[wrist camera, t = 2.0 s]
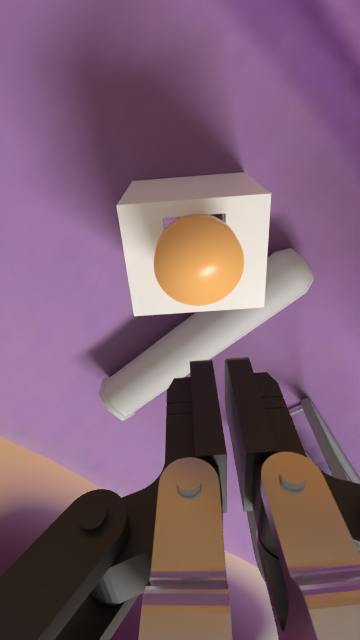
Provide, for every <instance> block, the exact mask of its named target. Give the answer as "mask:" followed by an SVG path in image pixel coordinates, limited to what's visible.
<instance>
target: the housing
mask: <svg viewBox="0 0 360 640" xmlns="http://www.w3.org/2000/svg"><path fill="white" fill-rule="evenodd" d="M270 205H271V193H270V192H269V191H268V190H266V189H265V188H264V187H262V186H261V185H260V184H259V183H257V182H256V181H255V180H254V179H252V178H251V177H250V176H248V175H247V174H246V173H245V172H240V173H227V174H215V175H202V176H189V177H176V178H163V179H151V180H138V181H132V183H131V184H130V186H129V187H128V189H127V190H126V192H125V193H124V195H123V196H122V198H121V199H120V201H119V202H118V204H117V205H116V206H117V212H118V218H119V224H120V231H121V237H122V243H123V249H124V256H125V262H126V268H127V274H128V281H129V287H130V293H131V299H132V305H133V312H134V316H145V315H160V314H175V313H189V312H204V311H218V310H233V309H248V308H262V307H264V303H265V286H266V270H267V254H268V238H269V221H270ZM190 214H207V215H210V214H222V221H224V222H225V223H226V224H227V225H228V226H229V227H230V228H231V229H232V230H233V232H234V233H235V235H236V237H237V239H238V241H239V243H240V245H241V247H242V250H243V255H244V269H243V273H242V276H241V279H240V281H239V282H238V284H237V286H236V287H235V288H234V289H233V290H232V292H231V293H229V294H228V295H227V296H226V297H224V298H223V299H221V300H219V301H217V302H215V303H212V304H208V305H202V306H193V305H187V304H183V303H180V302H178V301H176V300H174V299H173V298H171V297H170V296H168V295H167V294H166V293H165V292H164V291H163V289H162V288H161V287H160V285H159V283H158V281H157V279H156V276H155V272H154V256H155V249H156V245H157V242H158V239H159V237H160V235H161V234H162V232H163V231H164V230H165V220H164V218H171V217H183V216H186V215H190Z"/></svg>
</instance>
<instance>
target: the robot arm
mask: <svg viewBox="0 0 360 640" xmlns="http://www.w3.org/2000/svg"><path fill="white" fill-rule="evenodd" d="M190 376H191V377H186V378H174V379H173V381H172V383H171V384H170V386H169V388H168V389H167V417H166V450H165V464H164V468H163V470H162V472H161V474H160V475H159V477H158V478H157V479H156V480H155V481H154V482H153V483H152V484H151V485H149V486H148V487H146V488H145V489H142V490H140V491H138V492H135V493H133V494H130V495H127V496H125V497H122V498H121V497H120V496H119V495H118V494H116V493H115V492H113V491H110V490H105V489H98V490H93V491H90V492H87V493H86V494H83V495H82V496H80V497H79V498H77V499H76V500H75V501H74V502H73V503H72V504H71V505H70V506H69V507H68V508H67V509H66V510H65V511H64V512H63V513H62V514H61V515H60V516H59V517H58V518H57V519H56V520H55V521H54V522H53V524H52V525H50V527H49V528H48V529H47V530H46V531H45V532H44V533H43V534H42V535H41V536H40V537H39V538H38V539H37V540H36V541H35V542H34V543H33V544H32V545H31V546H30V547H29V548H28V549H27V550H26V551H25V552H24V553H23V554H22V555H21V556H20V557H19V558H18V559H17V560H16V561H15V562H14V563H13V565H12V566H11V567H10V568H9V569H8V570H7V571H6V572H5V573H4V574H3V575H2V576H1V577H0V640H110V638H111V637H112V635H113V634H114V632H115V631H116V629H117V628H118V626H119V625H120V623H121V622H122V620H123V619H124V617H125V616H126V614H127V613H128V611H129V610H130V608H131V607H132V605H133V604H134V602H135V601H136V599H137V597H138V595H139V594H141V593H143V592H144V597H143V603H142V611H141V621H140V631H139V640H232V629H231V616H230V604H229V593H228V584H227V578H226V566H225V552H224V539H223V513H227V453H226V446H225V440H224V433H223V427H222V420H221V414H220V407H219V401H218V394H217V388H216V381H215V375H214V369H213V362H212V360H199V361H190ZM225 404H226V413H227V419H228V424H229V430H230V436H231V442H232V447H233V453H234V459H235V464H236V470H237V476H238V481H239V487H240V493H241V499H242V504H243V510H244V511H254V516H255V521H256V526H257V532H256V542H257V547H258V551H259V556H260V560H261V564H262V568H263V573H264V577H265V581H266V586H267V590H268V594H269V598H270V603H271V607H272V611H273V615H274V620H275V624H276V628H277V633H278V639H279V640H360V484H359V483H354V482H350V481H346V480H342V479H338V478H335V477H332V476H330V475H328V474H326V473H324V472H323V471H321V470H320V469H319V468H318V467H317V465H316V464H315V463H313V462H312V461H311V460H310V459H308V457H307V456H306V454H305V452H304V449H303V447H302V444H301V442H300V439H299V436H298V434H297V431H296V429H295V426H294V424H293V421H292V418H291V416H290V413H289V411H288V410H287V405H286V403H285V400H284V399H283V395H282V393H281V390H280V387H279V385H278V383H277V382H276V381H275V380H274V379H273V378H272V377H271V376H270V375H269V374H268V373H267V372H263V373H253V369H252V366H251V363H250V360H249V358H248V357H244V358H229V359H225Z"/></svg>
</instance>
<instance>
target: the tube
mask: <svg viewBox="0 0 360 640" xmlns="http://www.w3.org/2000/svg"><path fill="white" fill-rule="evenodd" d="M313 281H314V276H313V274H312V272H311V269H310V267H309V264H308V262H307V260H306V259H304V258H303V257H302V256H300V255H299V254H298V253H297V252H295V251H294V250H293V249H292V248H289V249H285V250H281V251H277V252H274V253H273V254H272V255H270V256H269V257H268V258H267V270H266V286H265V303H264V307H262V308H248V309H233V310H218V311H204V312H195V313H194V314H193V315H191V316H190V317H189V318H187V319H186V320H185V321H183V322H182V323H181V324H179V325H178V326H177V327H176V328H174V329H173V330H172V331H170V332H169V333H168V334H166V335H165V336H164V337H162V338H161V339H160V340H158V341H157V342H156V343H154V344H153V345H152V346H151V347H149V348H148V349H147V350H145V351H144V352H143V353H141V354H140V355H139V356H137V357H136V358H135V359H133V360H132V361H131V362H129V363H128V364H127V365H126V366H124V367H123V368H122V369H120V370H119V371H118V372H116V373H115V374H114V375H112V376H111V377H109V378H105V379H104V380H102V383H101V387H100V390H99V395H100V397H101V399H102V401H103V402H104V404H105V406H106V408H107V409H108V411H110V412H111V413H112V414H114V415H115V416H116V417H118V418H119V419H120V420H122V421H123V420H125V419H127V418H129V417H131V416H133V415H134V414H135V411H136V410H138V409H139V408H140V407H142V406H143V405H145V404H146V403H148V402H149V401H151V400H152V399H153V398H155V397H156V396H158V395H159V394H161V393H162V392H164V391H165V390H167V389H168V388H169V386H170V384H171V383H172V381H173V379H174V378H184V377H185V376H187V375H188V374H190V361H199V360H210V359H211V358H213V357H214V356H216V355H217V354H219V353H220V352H221V351H223V350H224V349H226V348H227V347H229V346H230V345H232V344H233V343H234V342H236V341H237V340H239V339H240V338H242V337H243V336H245V335H246V334H247V333H249V332H250V331H252V330H253V329H255V328H256V327H258V326H259V325H260V324H262V323H263V322H265V321H266V320H268V319H269V318H271V317H272V316H273V315H275V314H276V313H278V312H279V311H281V310H282V309H284V308H285V307H286V306H288V305H289V304H291V303H292V302H294V301H295V300H297V299H298V298H299V297H301V296H302V295H304V294H305V293H306V292H307V291H308V289H309V287H310V286H311V284H312V283H313Z"/></svg>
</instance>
